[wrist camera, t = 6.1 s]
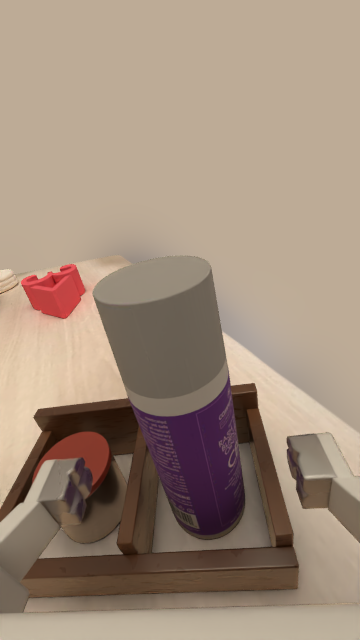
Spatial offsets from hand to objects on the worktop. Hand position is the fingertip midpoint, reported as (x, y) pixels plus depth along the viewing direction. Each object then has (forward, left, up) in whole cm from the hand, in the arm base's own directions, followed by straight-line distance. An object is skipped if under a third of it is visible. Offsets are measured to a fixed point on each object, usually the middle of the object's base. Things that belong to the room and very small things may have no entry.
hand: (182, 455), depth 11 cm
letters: (+37, -28, -9) cm, 47 cm away
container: (+1, -3, -9) cm, 9 cm away
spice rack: (+4, -1, -9) cm, 10 cm away
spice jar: (+8, 0, -9) cm, 12 cm away
